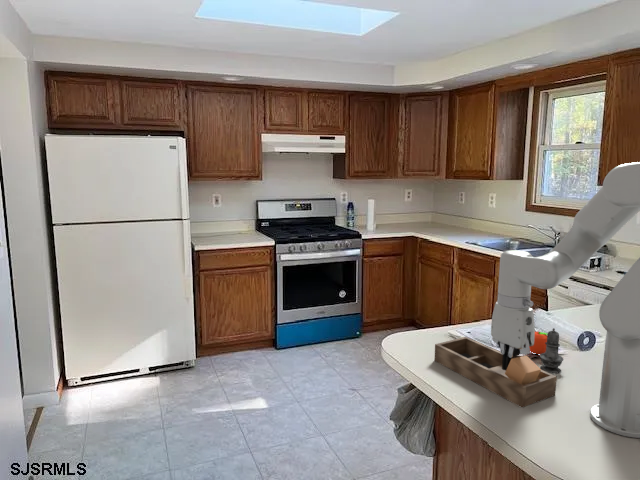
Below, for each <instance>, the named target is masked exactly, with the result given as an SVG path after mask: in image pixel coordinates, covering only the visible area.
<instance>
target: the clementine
mask: <svg viewBox="0 0 640 480" xmlns="http://www.w3.org/2000/svg"><path fill="white" fill-rule="evenodd" d="M547 334H548V332H543V331H535V337H534V345H533V346H529V348H530V351H531V352H533V353H536V354H542V353H545V352H546V344H545V343H546V342H547ZM531 352H530V353H531Z"/></svg>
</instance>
